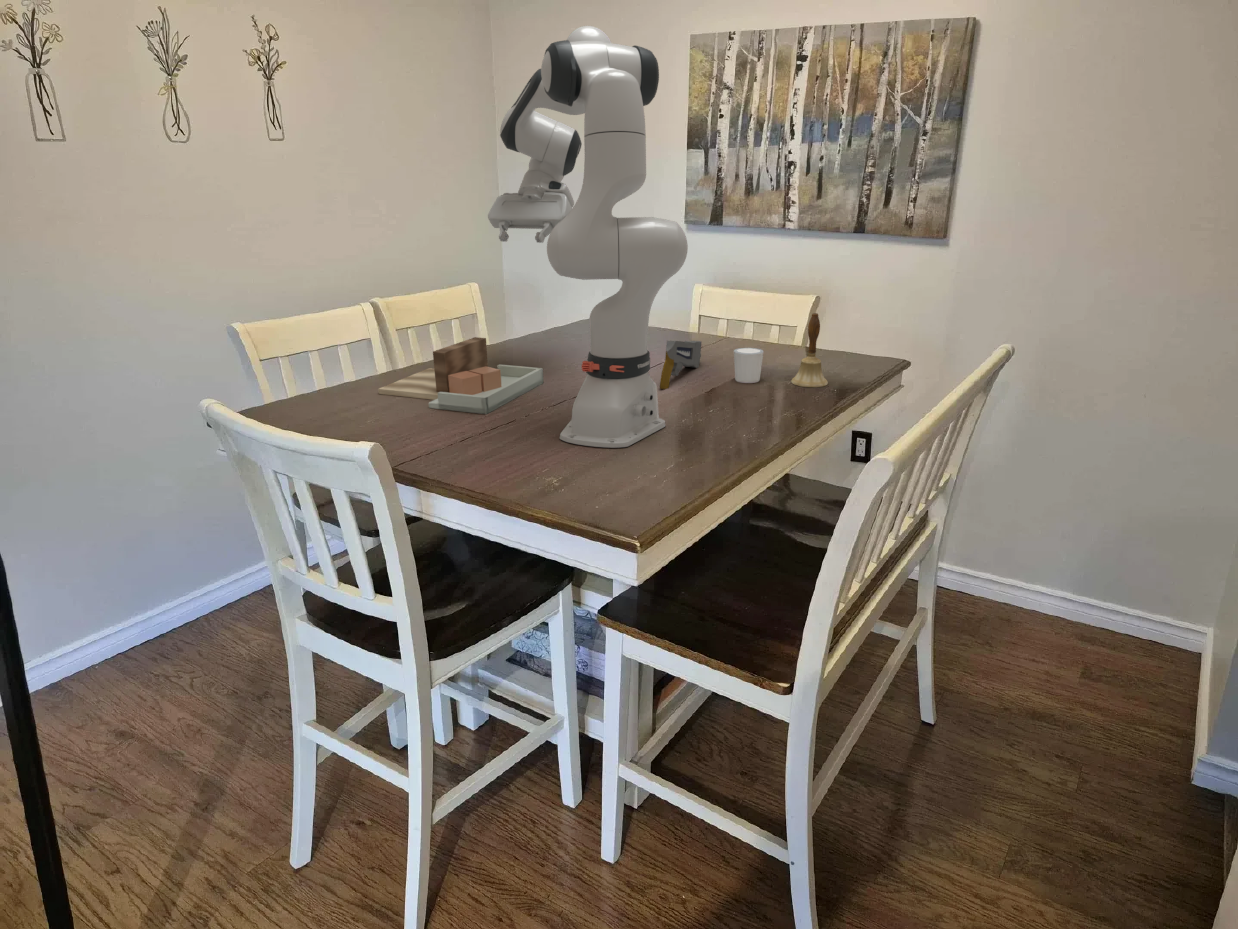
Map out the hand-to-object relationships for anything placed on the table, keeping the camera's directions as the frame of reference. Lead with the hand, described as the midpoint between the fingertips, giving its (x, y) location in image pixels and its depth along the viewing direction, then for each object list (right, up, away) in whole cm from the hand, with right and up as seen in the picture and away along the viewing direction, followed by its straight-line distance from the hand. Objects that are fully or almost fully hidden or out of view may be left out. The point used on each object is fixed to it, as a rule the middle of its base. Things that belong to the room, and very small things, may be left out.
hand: (520, 240), depth 192 cm
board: (-19, -34, +1) cm, 39 cm away
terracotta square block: (-7, -34, -5) cm, 36 cm away
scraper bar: (-13, -33, -2) cm, 36 cm away
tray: (-6, -36, -7) cm, 37 cm away
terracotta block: (-11, -36, -9) cm, 39 cm away
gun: (+37, -31, +7) cm, 49 cm away
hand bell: (+66, -33, -1) cm, 74 cm away
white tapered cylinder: (+53, -32, +2) cm, 62 cm away
